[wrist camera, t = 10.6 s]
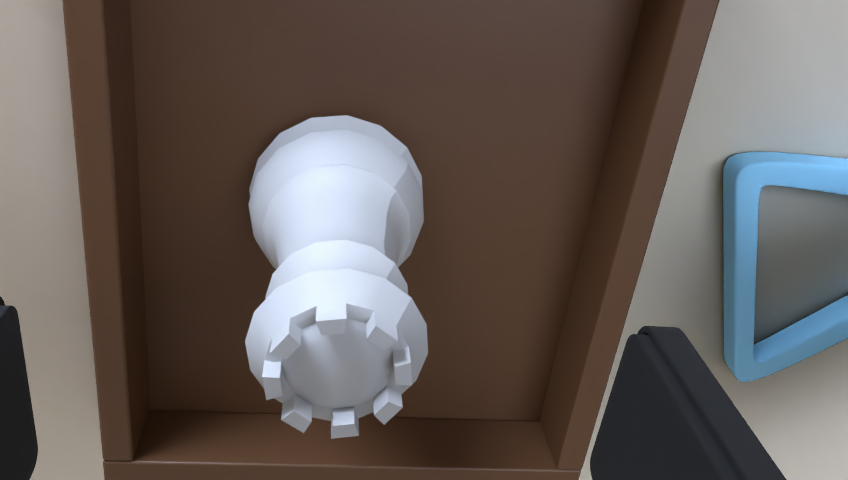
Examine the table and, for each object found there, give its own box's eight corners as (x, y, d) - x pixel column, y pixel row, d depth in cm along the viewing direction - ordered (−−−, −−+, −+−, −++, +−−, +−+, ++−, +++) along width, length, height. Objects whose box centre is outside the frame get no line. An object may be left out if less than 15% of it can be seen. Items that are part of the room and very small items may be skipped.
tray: (87, -260, 15) (35, -284, 13) (703, -164, 17) (769, -167, 15) (130, 411, 23) (103, 483, 20) (551, 423, 25) (576, 490, 23)
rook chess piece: (351, 72, 18) (360, 211, 11) (455, 202, 20) (519, 392, 13) (214, 178, 19) (142, 369, 12) (326, 293, 21) (321, 516, 14)
